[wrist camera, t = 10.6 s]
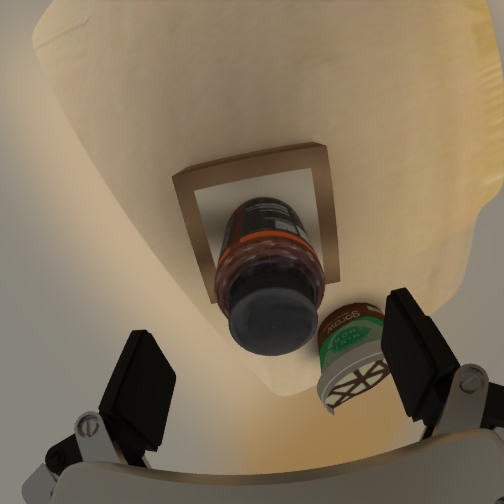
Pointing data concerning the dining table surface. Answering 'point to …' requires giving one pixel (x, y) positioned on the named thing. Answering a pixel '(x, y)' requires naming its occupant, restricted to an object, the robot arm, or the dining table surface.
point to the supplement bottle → (268, 278)
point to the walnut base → (259, 185)
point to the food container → (350, 353)
